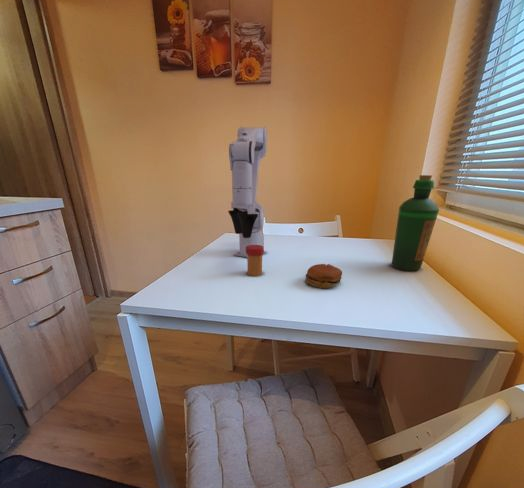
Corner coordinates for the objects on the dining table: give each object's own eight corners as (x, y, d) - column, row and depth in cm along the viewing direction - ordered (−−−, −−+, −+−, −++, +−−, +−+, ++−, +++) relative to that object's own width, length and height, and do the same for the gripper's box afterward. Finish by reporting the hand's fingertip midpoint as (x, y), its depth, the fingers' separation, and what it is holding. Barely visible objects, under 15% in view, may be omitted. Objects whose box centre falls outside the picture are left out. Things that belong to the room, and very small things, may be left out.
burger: (309, 289, 73) (310, 272, 72) (302, 276, 82) (304, 261, 80) (346, 289, 74) (348, 272, 72) (335, 276, 82) (337, 261, 81)
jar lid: (247, 256, 79) (247, 249, 78) (244, 251, 83) (244, 245, 82) (265, 255, 80) (265, 248, 79) (261, 250, 84) (261, 244, 84)
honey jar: (250, 270, 86) (250, 246, 83) (263, 272, 85) (264, 247, 82) (245, 275, 83) (245, 250, 80) (259, 276, 81) (259, 251, 78)
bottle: (430, 273, 86) (456, 176, 75) (395, 272, 86) (416, 175, 75) (414, 262, 96) (434, 175, 85) (382, 261, 96) (399, 174, 85)
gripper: (265, 189, 75) (264, 239, 80) (245, 187, 87) (246, 230, 92) (241, 189, 72) (242, 241, 77) (224, 187, 84) (225, 231, 89)
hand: (242, 235), depth 85 cm, fingers open, 6 cm apart
